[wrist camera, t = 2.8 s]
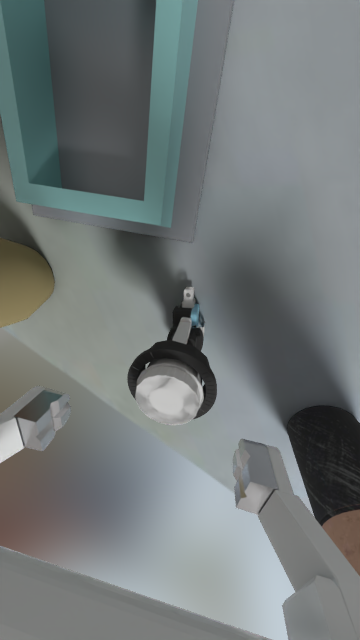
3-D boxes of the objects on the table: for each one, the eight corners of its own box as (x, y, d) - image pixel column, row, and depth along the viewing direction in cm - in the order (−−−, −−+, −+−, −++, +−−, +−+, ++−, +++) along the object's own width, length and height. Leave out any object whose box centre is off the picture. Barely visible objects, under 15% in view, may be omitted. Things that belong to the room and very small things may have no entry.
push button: (163, 284, 18) (110, 331, 9) (220, 287, 17) (224, 342, 8) (165, 344, 21) (125, 427, 12) (214, 349, 20) (212, 443, 11)
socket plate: (240, -37, 10) (254, -200, 6) (193, 242, 16) (185, 243, 12) (10, -42, 11) (-92, -180, 8) (44, 216, 17) (-4, 210, 14)
